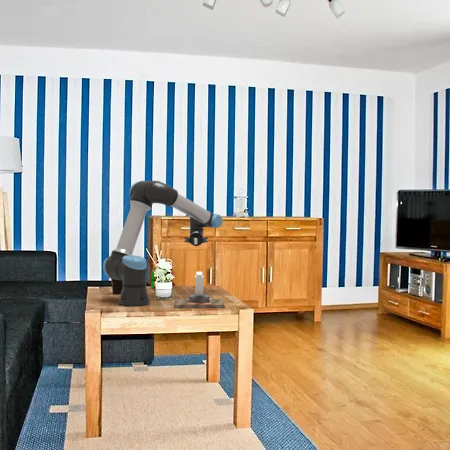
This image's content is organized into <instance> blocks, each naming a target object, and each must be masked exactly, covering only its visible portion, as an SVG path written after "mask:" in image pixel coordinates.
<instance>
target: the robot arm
mask: <svg viewBox="0 0 450 450" xmlns="http://www.w3.org/2000/svg"><path fill="white" fill-rule="evenodd" d="M128 191H129V192H128V196H129V199H130V200H129V203H130V205H131V206H130V208H129V211H128V215H127V217H126V220H125V222H124V226H123V229H122V231H121V233H120V237H119V239H118V243H117V245H116V248H115V249H113V250H111V253H110V256H108V257H106V258H105V259H104V261H103V263H102V270H103V273H104V275H105V276H106V278H109V279H110V280H111V279H114V280H121V281H123V288H122V292H121V294H119V299H118V304H119V305H120V304H121V305H120V306H125V305H127V306H128V307H134V306H135V307H139V306H148V305H150V304H151V299H150V295H149V292H148V289H147V266H148V265H147V260H146V258H145V257H143V256H140V255H134V254H133V253H134V251H135V247H136V244H137V242H138V238H139V235H140V232H141V230H142V227H143V225H144V221H145V218H146V216H147V212H149V211H150V210H151V209H152V207H153V205H154V204H159V205H164V206H166V207H172V208H174V209H176V210H178V211H179V212H181V213H183V214H184V215H186V216H188V217H189V237H184V239H183V240H184V243H187V244H190V245H192V246H194V247H199V246H202V244H204V243H208V242H209V238H208V236H207V237H204V228H209V229H210V228H213V229H217V228H220V227H221V226H223V222H224V221H223V217H222V215H221V214H219V213H218V214H217V213H213V212H211V211H209V210H207V209H205V208H204V207H202V206H200V205H199V204H197V203H195V202H194V201H192V200H191V199H188V198H187V197H185V196H183V195H182V194H180V193H179V192H178V190H177V189H175V188H174V187H171V185H168V184H166V183H164V182H162V181H160V180H140V181H136V182H134V183H133V184H132V185H131V186H130V187H129V190H128Z"/></svg>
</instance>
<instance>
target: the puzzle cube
mask: <svg viewBox="0 0 450 450" xmlns="http://www.w3.org/2000/svg"><path fill="white" fill-rule="evenodd" d="M154 271H155V270H151V272H150V273H151V274H150V277H151V278H150V279H151V281H150V288H151V289H154V282H155V280H156V277H154ZM170 271H171V270H170ZM171 274H172V275H173V276H174V271H171ZM172 286H173V287H174V280H173V281H172Z"/></svg>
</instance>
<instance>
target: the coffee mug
mask: <svg viewBox="0 0 450 450" xmlns="http://www.w3.org/2000/svg"><path fill="white" fill-rule="evenodd" d="M110 281H111V289H112V295H121V292H122V288H123V281H121V280H114V279H111V278H110Z"/></svg>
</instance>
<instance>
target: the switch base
mask: <svg viewBox="0 0 450 450" xmlns="http://www.w3.org/2000/svg"><path fill="white" fill-rule="evenodd" d="M173 309H225V302H224V299H223V298H218V299H217V298H215V299H214V298H210V294H203V296H195V294H189V295H188V298H175V299H174V304H173Z"/></svg>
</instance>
